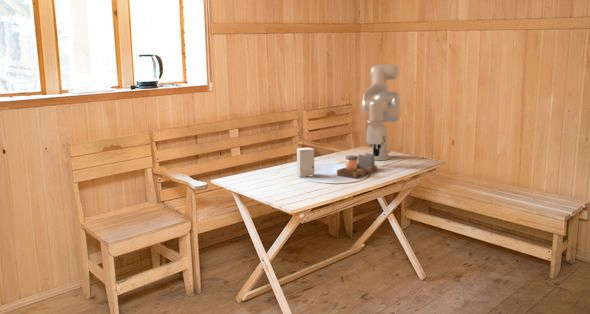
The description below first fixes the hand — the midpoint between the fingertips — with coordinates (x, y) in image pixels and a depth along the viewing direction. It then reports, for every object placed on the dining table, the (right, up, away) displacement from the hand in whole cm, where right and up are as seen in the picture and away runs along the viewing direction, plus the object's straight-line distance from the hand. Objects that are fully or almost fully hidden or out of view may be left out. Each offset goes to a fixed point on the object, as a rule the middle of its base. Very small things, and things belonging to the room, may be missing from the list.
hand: (376, 155), depth 314 cm
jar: (-15, -9, -15) cm, 23 cm away
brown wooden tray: (-12, -9, -12) cm, 19 cm away
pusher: (-5, -6, -5) cm, 9 cm away
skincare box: (-39, -11, -12) cm, 43 cm away
